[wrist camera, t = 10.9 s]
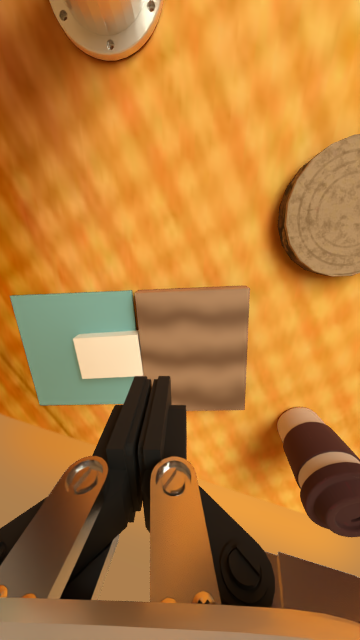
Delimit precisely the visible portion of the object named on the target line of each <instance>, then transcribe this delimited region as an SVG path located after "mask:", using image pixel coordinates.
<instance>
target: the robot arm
mask: <svg viewBox="0 0 360 640" xmlns="http://www.w3.org/2000/svg"><path fill="white" fill-rule="evenodd" d="M49 2H50V4H51V7H52V10H53V12H54V14H55V16H56V18H57V20H58V22H59V23H60V25H61V27H62V29H63V30H64V32H65V33H66V35H67V36H68V38H69V39H70V40H71V41H72V42H73V43H74V44H75V45H76V46H77V47H78V48H79V49H81V50H82V51H83V52H85V53H86V54H88V55H90V56H92V57H94V58H96V59H101V60H106V61H110V60H119V59H123V58H126V57H128V56H130V55H132V54H133V53H135V52H136V51H138V50H139V49H140V48H141V47H142V46H143V45H144V44H145V43H146V41H147V40H148V39H149V37H150V36H151V35H152V33H153V31H154V29H155V27H156V25H157V23H158V20H159V16H160V13H161V10H162V5H163V0H49ZM186 441H187V434H186V405H172V400H171V378H170V376H159V377H158V379H154V381H153V385H152V382H151V379H147V376H135V377H134V379H133V381H132V384H131V387H130V389H129V392H128V394H127V397H126V399H125V402H124V404H123V405H115V406H114V408H113V410H112V413H111V415H110V417H109V419H108V422H107V424H106V426H105V428H104V431H103V433H102V435H101V437H100V440H99V442H98V444H97V446H96V449H95V451H94V453H93V456H88V457H84V458H82V459H80V460H78V461H76V462H75V463H73V464H72V465H71V466H70V467H69V468H68V469H67V470H66V471H65V472H64V474H63V475H62V477H61V478H60V480H59V481H58V482H57V484H56V485H55V487H54V488H53V490H52V491H51V493H50V494H49V496H48V497H46V498H45V499H43V500H42V501H40V502H39V503H38V504H36V505H35V506H33V507H32V508H30V509H29V510H27V511H26V512H25V513H23V514H21V515H20V516H18V517H17V518H15V519H14V520H12V521H11V522H10V523H8V524H7V525H5V526H4V527H2V528H1V529H0V640H360V578H359V577H357V576H355V575H351V574H348V573H345V572H342V571H339V570H335V569H332V568H329V567H326V566H323V565H319V564H316V563H313V562H309V561H306V560H303V559H300V558H297V557H294V556H290V555H287V554H284V553H281V552H278V555H275V554H271V553H268V552H265V551H264V550H263V549H262V548H261V547H260V545H259V544H258V543H257V542H256V541H255V540H254V539H253V538H252V537H251V536H250V535H249V534H248V533H246V531H245V530H243V528H242V527H241V526H240V525H239V524H237V522H236V521H234V520H233V519H232V517H230V516H229V515H228V514H227V513H226V512H225V511H224V510H223V509H222V508H221V507H220V506H219V505H218V504H217V503H216V502H215V501H214V500H213V499H212V498H211V497H210V496H209V495H208V494H207V493H206V492H205V491H204V490H203V489H202V488H201V487H200V486H199V485H198V481H197V476H196V472H195V470H194V467H193V466H192V465H191V463H190V462H188V461H187V460H186ZM142 501H143V507H144V516H145V525H146V528H147V530H148V531H149V532H150V602H132V601H130V602H129V601H101V600H98V598H99V595H100V592H101V590H102V587H103V584H104V581H105V578H106V575H107V572H108V569H109V567H110V564H111V561H112V558H113V555H114V552H115V549H116V547H117V544H118V539H119V534H120V533H121V532H122V531H123V530H124V529H125V528H126V527H127V523H128V522H134V517H135V512H136V511H140V510H141V507H142Z"/></svg>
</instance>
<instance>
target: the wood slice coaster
mask: <svg viewBox="0 0 360 640" xmlns="http://www.w3.org/2000/svg"><path fill="white" fill-rule="evenodd" d="M278 230H279V234H280V239H281V243H282V246H283V247H284V249H285V251H286V252H287V254H288V255H289V257H290V259H291V260H292V261H294V262H295V263H296V264H298V265H299V266H300V267H302V268H303V269H304V270H308V271H311V272H314V273H318V274H322V275H327V276H352V275H355V274H358V273H360V134H358V135H352V136H350V137H348V138H345V139H343V140H340V141H338V142H335V143H333V144H331V145H330V146H328V147H327V148H326V149H324V150H323V151H322V152H320V153H319V154H318V155H316V156H315V157H314V158H313V159H311V160H310V161H309V162H308V163H306V164H305V165H304V166H303V167H302V168H300V170H299V171H298V173H297V174H296V175H295V177H294V178H293V179H292V181H291V182H290V184H289V185H288V186H287V189H286V191H285V194H284V197H283V199H282V202H281V205H280V208H279V220H278Z"/></svg>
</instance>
